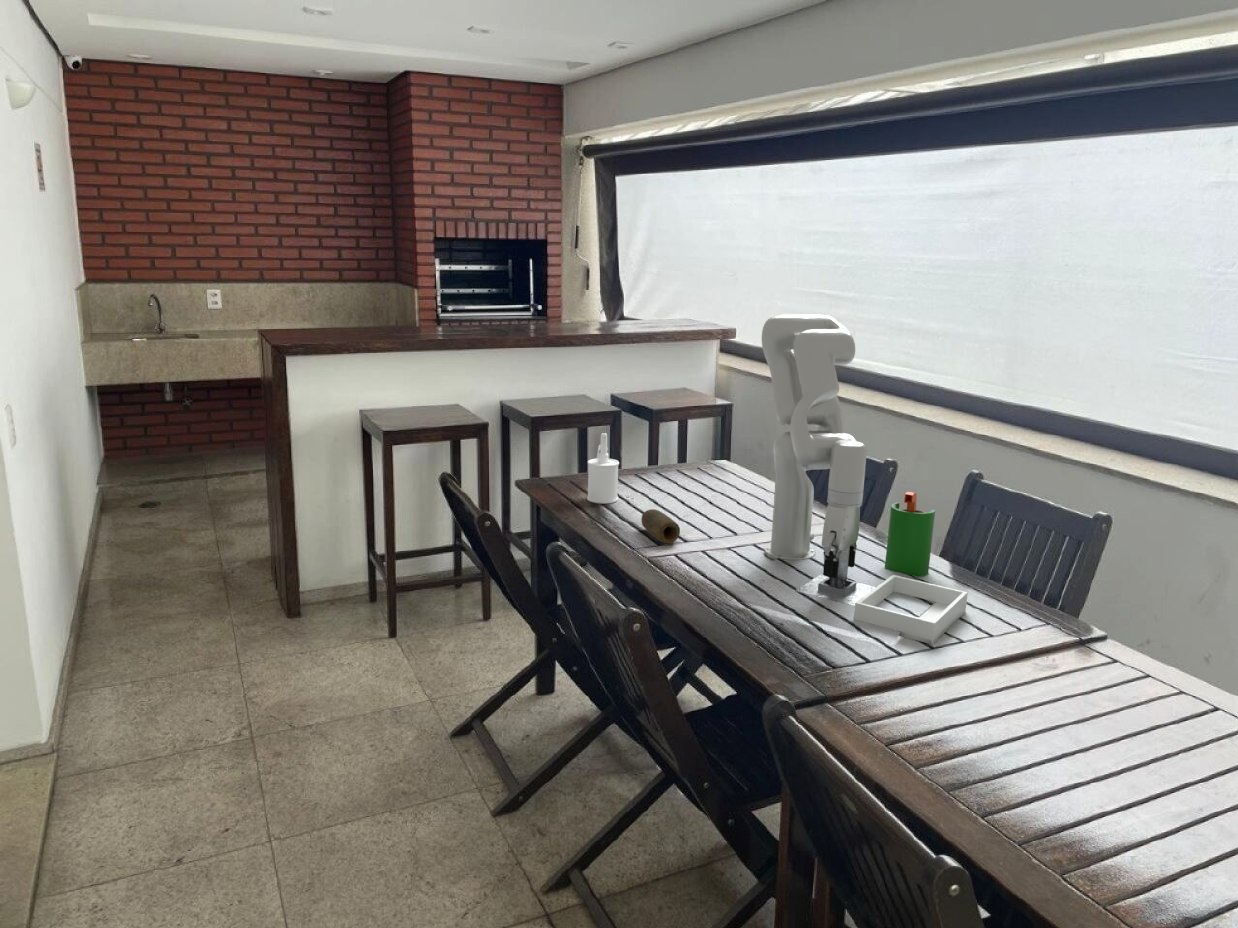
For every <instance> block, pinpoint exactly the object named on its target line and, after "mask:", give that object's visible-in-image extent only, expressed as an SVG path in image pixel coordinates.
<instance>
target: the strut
mask: <svg viewBox="0 0 1238 928" xmlns="http://www.w3.org/2000/svg"><path fill="white" fill-rule="evenodd" d="M832 546H835V547H838V546H836V545H832ZM849 550H850V546H849V547H847V548H845V549H843V550H841V551H840V553H839V556H838V559H837V561H839V566H838V577H837V578H831V577H829V582H828V585H831V586H835V587H839V588H843V589H844V588H846V586H847V580H848V573H849V567H848V562H849ZM831 551H833V553H834V555H835V552H836V551H834V550H831Z"/></svg>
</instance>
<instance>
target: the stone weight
mask: <svg viewBox="0 0 1238 928" xmlns="http://www.w3.org/2000/svg"><path fill="white" fill-rule="evenodd" d="M641 525H642V526H643V527H644V529H645V530H646V531H647V532H648V533H649V534H651V536H653V537H654V538H656V539H657V540H658V541H660V542H662V543H665V544H669V545H670V544H673V543H675V542H676V541H677V540H678V538H679V537H680V533H681V528H680V525H679V524H678V523H677V522H675V520H673V519H672V518H670V516H668V515H666V514H665V513H663V512H662V511H660V510H658V509H654V508H653V509H651V508H650V509H647V510H645V511H644V512H643V513H642V515H641Z"/></svg>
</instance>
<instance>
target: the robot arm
mask: <svg viewBox="0 0 1238 928" xmlns="http://www.w3.org/2000/svg"><path fill="white" fill-rule="evenodd" d="M761 347H762V351H763V355H764V359H765V362H766V363H767V365H768V368H769V372H770V375H771V376H770V378H771V386H772V395H773V404H774V411H775V415H776V416H775V417H776V420H777V421H778V423H779V424H780V425H782V426H784V427H785V426H786V427H789V428H790V429H789V430H790V431H786V432H783V433H781V434H779V435H778V436H777V437H776V438H775V440H774V443H773V451H772V452H773V460H774V470H775V471H774V472H775V473H774V476H775V477H774V478H775V479H774V480H775V481H774V494H773V495H774V497H773V510H772V525H771V526H772V527H771V539H770V544H768V545H766V546H765V547H764V548H763V549H764V550H763V551H764V554H765V556H766V557H768V558H770V559H771V560H777V559H781V560H789V561H791V560H792V561H800V560H809V559H812V558H813V557H815V556H816V552H815V550H814V549H813V548H811V547H810V546H811V541H812V540H814V539H815V535H814V533H813V532H812V520H813V519H812V518H813V506H814V494H815V493H814V492H815V491H814V490H815V489H814V484H813V482H812V481H811V479H810V478H809V476H808V475H807V473H806V471H811V470H829V475H828V476H829V477H828V485H827V486H828V487H827V500H826V503H828V504H827V508H826V511H825V517H824V521H823V528H822V535H821V536H822V537H821V547H822V548H823V570H822V574H823V575H824V576H827V577H831V578H837V577H838V566H839V561H837V559H838V556H839V553H840V551H841V550H843V549H845V548H847V547H849V546H850V550H849V562H848V568H849V567H850V568H854V567H855V561H856V550H857V541H858V538H859V531H860V520H861V519H860V517H861V512H860V511H861V510H860V507H862V506H863V501H864V500H863V498H864V488H865V487H864V486H865V476H866V465H867V463H866V462H867V456H868V455H867V452H868V451H867V449H868V448H867V446H866V445H865V443H863V442H861V441H857V439H856V438H855V437H854V436H853V435H851V434H849V433H845V432H844V424H843V417H842V416H843V415H842V409H841V402H840V400H839V397H838V396H837V395H838V394H839V393H840V384H839V381H838V375H837V371H836V366H847V365H849V364H851V363H852V362H853V360H854V358H855V356H856V343H855V340H854V337H853V335H852V333H850V331H849V330H848V328H847V327H845V326H844V325H842V324H841V323H840V322H838V320H836V319H835V318H834V317H832V316H830V315H826V314H792V313H791V314H789V313H788V314H779V315H774V316H772V317H770V318H768V319H767V320H766V321H765V323H764V325H763V327H762V330H761ZM792 350H793V352H792ZM809 427H817V430H809ZM832 545H836V546H838V547H835V546H832ZM831 550H834V551H836V552H835V555H834V553H833V551H831Z"/></svg>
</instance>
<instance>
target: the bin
mask: <svg viewBox="0 0 1238 928" xmlns="http://www.w3.org/2000/svg"><path fill="white" fill-rule="evenodd" d="M875 587H876V588H875V589H873V590H872V591H871V592H869V593H868V594H867V595H865V596H864V597H862V598H861V599H860V600H858V601H857V602H856V603H855V606H854V611H853V612H854V613H853V620H856V621H860V622H865V623H868V624H871V625H875V626H878V627H879V626H880V627H883V628H887V629H891V630H894V631H898V632H900V633H899V634H898V636H900V637H904V638H908V639H911V640H915V641H918V642H921V643H922V642H923V643H926V644H930V645H934V644H935V643H936V642H937V641H938V640H939V639H940V637H941V636H943V634H945V633H946V632H947V631H948V630H949V629H950V628H951V627H952V626H953V625H954V624H955V623H956V621H958V620H959V619H960V618H961V617H962V616H963V615H964V614H965V613H966V611H967V610H966V609H967V602H968V593H969V592H968V591H964V590H960V589H955V588H951V587H947V586H943V585H938V584H933V583H929V582H925V581H920V580H917V579H913V578H908V577H905V576H904V577H903V576H901V575H896V574H893V575H891V576H889V577H888V578H886V579H885V580H884V581H883V582H882V583H879V584H878V585H877V586H875ZM893 593H899V594H902V595H905V596H911V597H913V598H919V599H924V600H927V601H932V602H933V604H931V605H930V606H929V607H928V608H927V609H926V610H924V611H923V613H921V614H920V615H919V616H918V617H917V616H915V615H911V614H906V613H901V612H899V611H895V610H891V609H888V608H882V607H879V606H877V605H879V603H880V602H883V600H884V599H886V598H887V597H888V596H890V595H891V594H893Z"/></svg>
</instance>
